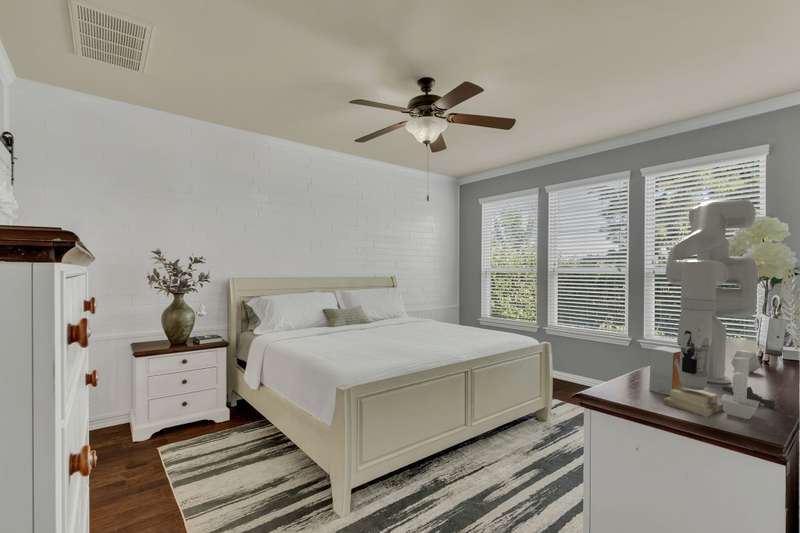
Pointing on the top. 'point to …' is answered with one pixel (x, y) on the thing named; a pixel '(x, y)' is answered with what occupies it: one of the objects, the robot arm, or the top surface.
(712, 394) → the plinth
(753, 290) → the robot arm
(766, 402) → the animal figurine
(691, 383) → the energy drink can
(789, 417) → the top surface
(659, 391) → the small box
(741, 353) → the die
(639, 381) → the top surface
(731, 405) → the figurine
